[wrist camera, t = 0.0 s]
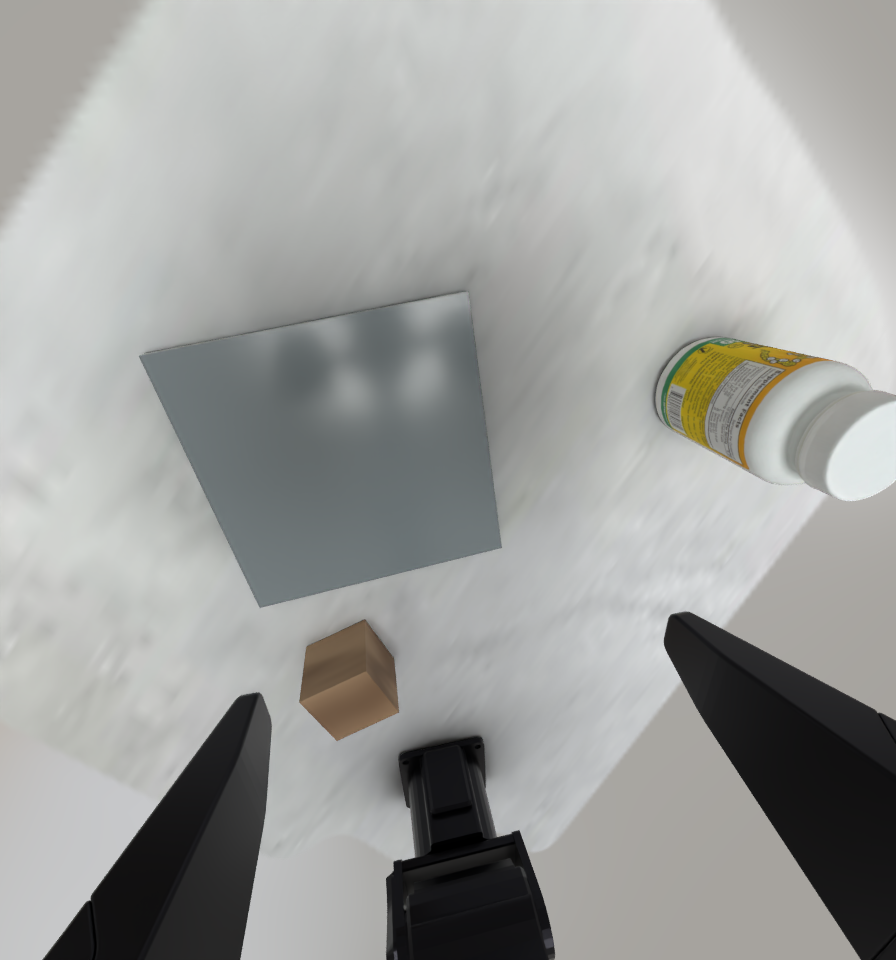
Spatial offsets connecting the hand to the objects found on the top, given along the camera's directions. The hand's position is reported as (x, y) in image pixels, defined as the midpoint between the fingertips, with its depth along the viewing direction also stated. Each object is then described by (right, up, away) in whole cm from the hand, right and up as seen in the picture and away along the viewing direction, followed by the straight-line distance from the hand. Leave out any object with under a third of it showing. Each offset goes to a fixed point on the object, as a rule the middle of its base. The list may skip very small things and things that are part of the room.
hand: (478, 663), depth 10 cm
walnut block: (-7, -7, +19) cm, 21 cm away
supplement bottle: (+13, +9, +15) cm, 22 cm away
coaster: (-6, +5, +13) cm, 15 cm away
